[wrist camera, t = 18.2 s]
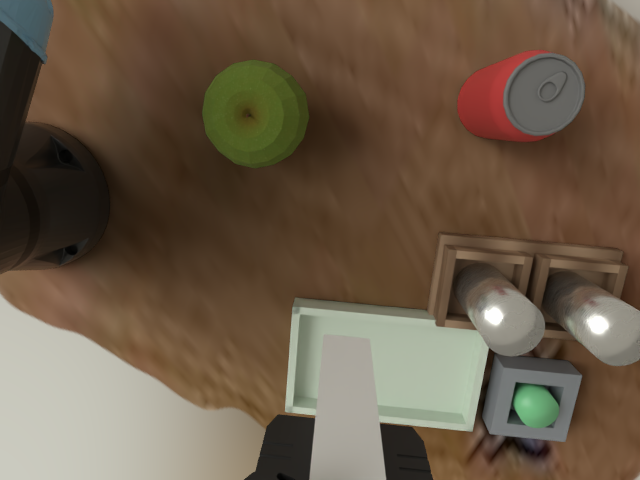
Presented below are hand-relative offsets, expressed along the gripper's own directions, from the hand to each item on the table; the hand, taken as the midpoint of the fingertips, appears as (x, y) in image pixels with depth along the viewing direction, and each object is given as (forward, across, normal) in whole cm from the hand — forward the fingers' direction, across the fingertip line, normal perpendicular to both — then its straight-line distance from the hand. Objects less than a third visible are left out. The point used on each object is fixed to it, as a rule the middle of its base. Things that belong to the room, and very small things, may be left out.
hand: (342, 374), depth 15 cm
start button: (+31, +22, -19) cm, 43 cm away
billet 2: (+31, +23, -7) cm, 40 cm away
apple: (+33, -8, +8) cm, 35 cm away
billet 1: (+31, +14, -7) cm, 35 cm away
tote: (+32, +6, -17) cm, 37 cm away
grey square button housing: (+32, +22, -19) cm, 44 cm away
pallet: (+32, +19, -7) cm, 38 cm away
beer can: (+33, +13, +11) cm, 37 cm away
